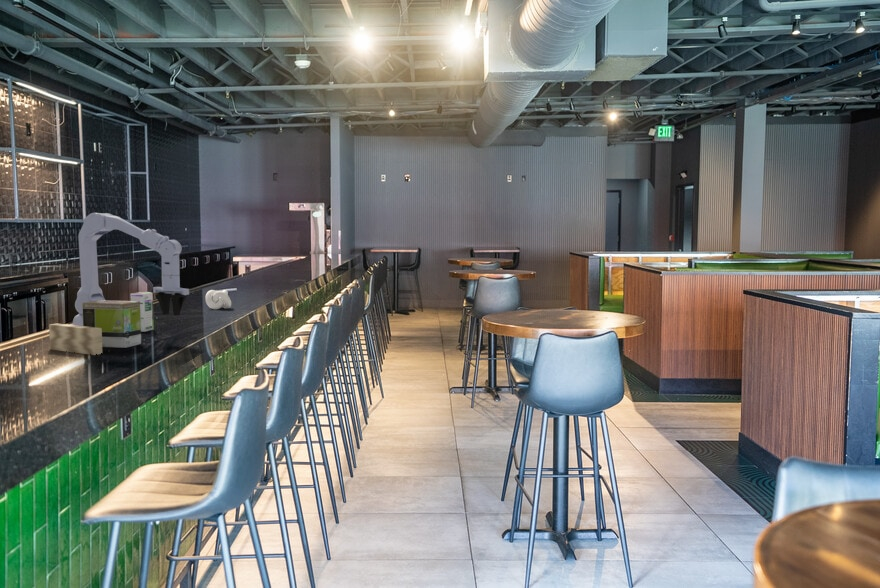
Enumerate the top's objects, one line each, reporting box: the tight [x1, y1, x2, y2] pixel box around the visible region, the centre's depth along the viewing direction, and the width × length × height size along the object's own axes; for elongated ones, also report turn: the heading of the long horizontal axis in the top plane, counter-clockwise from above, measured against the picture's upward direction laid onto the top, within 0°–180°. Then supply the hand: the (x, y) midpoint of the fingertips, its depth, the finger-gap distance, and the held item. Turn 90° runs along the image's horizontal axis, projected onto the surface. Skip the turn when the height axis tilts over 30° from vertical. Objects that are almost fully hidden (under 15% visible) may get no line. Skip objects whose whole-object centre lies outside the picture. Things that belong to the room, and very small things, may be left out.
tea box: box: [83, 299, 142, 349], centre depth 240 cm, size 15×10×15 cm, turn 80°
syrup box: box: [130, 291, 155, 333], centre depth 274 cm, size 6×6×14 cm
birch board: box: [48, 323, 103, 356], centre depth 227 cm, size 20×3×8 cm, turn 65°
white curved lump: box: [204, 289, 232, 310], centre depth 347 cm, size 11×12×9 cm
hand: (171, 314), depth 248 cm, fingers open, 4 cm apart
